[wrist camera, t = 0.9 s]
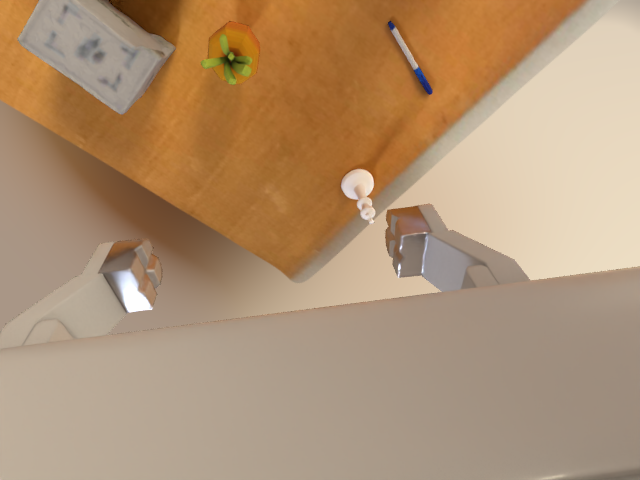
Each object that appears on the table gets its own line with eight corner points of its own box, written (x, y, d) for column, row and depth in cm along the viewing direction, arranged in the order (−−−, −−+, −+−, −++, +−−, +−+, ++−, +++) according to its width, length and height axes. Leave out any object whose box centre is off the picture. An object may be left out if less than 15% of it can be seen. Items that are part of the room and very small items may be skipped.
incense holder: (182, 39, 42) (162, 62, 34) (144, 94, 45) (116, 127, 37) (95, -38, 37) (46, -32, 29) (59, 30, 40) (6, 52, 32)
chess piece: (351, 202, 58) (363, 242, 50) (335, 180, 55) (345, 219, 47) (378, 186, 57) (396, 225, 49) (363, 162, 54) (379, 199, 46)
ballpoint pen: (433, 89, 48) (436, 92, 48) (427, 94, 49) (430, 97, 48) (390, 19, 43) (392, 21, 42) (384, 25, 43) (386, 26, 42)
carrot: (210, 41, 42) (187, 78, 31) (231, -1, 40) (215, 22, 28) (248, 67, 44) (240, 112, 33) (270, 29, 42) (270, 62, 31)
